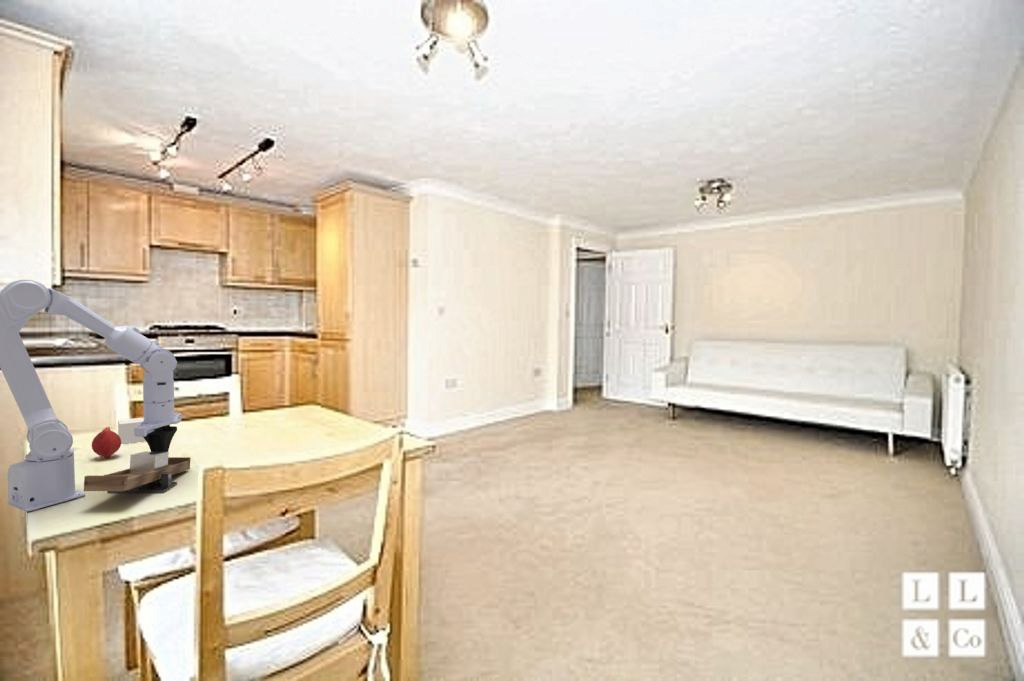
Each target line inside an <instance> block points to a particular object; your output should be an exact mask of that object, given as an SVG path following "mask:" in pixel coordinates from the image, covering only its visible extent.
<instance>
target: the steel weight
mask: <svg viewBox="0 0 1024 681" xmlns="http://www.w3.org/2000/svg"><path fill="white" fill-rule="evenodd" d="M169 454H170V453H169V451H168V452H151V451H142V452H137V453H132V454H130V458H129V459H130V460H129V468H130V470H129V474H145V473H148V472H151V471H155V470H158V469H162V468H165V467H168V457H169Z"/></svg>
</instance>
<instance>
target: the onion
mask: <svg viewBox="0 0 1024 681" xmlns="http://www.w3.org/2000/svg"><path fill="white" fill-rule="evenodd" d="M121 446H122V445H121V438H120V437H119V435H118V433H116V432H114V431H113V430H111V427H110V426H106V427H104V428H103V429H102V431H100V432H99V433H97V434H96V436H94V438H93V440H92V442H91V449H92V452H94V453H95V454H96V455H98V456H100V457H101V458H105V459H109V458H111V457H112V456H113V455H114V454H115V453H117V452H118V450H120V448H121Z"/></svg>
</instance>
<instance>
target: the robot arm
mask: <svg viewBox="0 0 1024 681" xmlns="http://www.w3.org/2000/svg"><path fill="white" fill-rule="evenodd" d="M43 310H44V313H47V314H51V315H59V316H64V317H67V318H69V319H70V320H72V321H74V322H75V323H77V324H79V325H81V326H83V327H85V328H87V329H89V330H90V331H92V332H94V333H95V334H98V335H99V336H101V337H103V338H104V340H105V346H106V348H108V349H110V350H111V351H113V352H114V353H117V354H119V355H120V356H122V357H124V358H126V359H127V360H129V361H130V362H132V363H134V364H139V365H140V367H141V368H142V369H143V381H142V390H143V391H142V396H143V397H142V398H143V399H142V400H143V402H142V403H143V404H142V405H143V417H144V421H143V422H142V423H141V424H140V425H139V426H137V427H135V428H134V435H135V437H143V438H144V439H145V440H146V442H145V443H147V445H148V447H149V450H150V452H169V450H170V445H171V443H172V440H173V438H174V436H175V434H176V432H177V431H178V427H177V426H173V425H176V424H179V423H180V422H182V413H181V412H175V380H174V370H176V368H177V365H178V361H177V359H176V357H175V354H174V353H173V352H171V351H170V350H168V349H165V348H163V346H160V344H161V343H160V342H159V341H157V340H154V341H153V340H152V339H150V338H148V337H147V336H144V335H143V334H142V333H140V332H141V330H140V329H139V328H137V326H132V327H130V326H128V325H117V326H116V325H115V324H113V323H111V322H109V321H108V320H107V319H105V318H104V317H102V316H100V315H99V314H97V313H96V312H94V311H93V310H91V309H89V308H88V307H86V306H84V305H83V304H81V303H80V302H79V301H77V300H75V299H74V298H72V297H71V296H69V295H67V294H64V293H62V292H59V291H57V290H55V289H53V288H50V287H47V286H45V285H44V284H42V283H41V282H39V281H36V280H33V279H28V278H27V279H26V278H25V279H18V280H14V281H11V282H9V283H8V284H7V285H6V286H5V287H3V288H2V289H1V290H0V370H1V373H2V374H3V377H4V379H5V381H6V383H7V385H8V388H9V389H10V392H11V393H12V396H13V398H14V401H15V402H16V406H17V407H18V409H19V411H20V414H21V415H22V418H23V420H24V423H25V425H26V427H27V433H26V440H27V442H28V443H29V444H28V447H29V450H30V451H29V452H28V453H26V454H25V457H24V458H25V459H23V460H22V461H20V462H16V463H12V464H11V465H10V466H9V467H8V471H7V491H8V492H7V495H8V501H7V502H6V505H8V506H11V507H13V508H17V509H19V510H20V511H21V510H22V511H24V512H31V511H36V510H38V509H42V508H45V507H50V506H53V505H57V504H59V503H64V502H67V501H71V500H74V499H78V498H81V497H85V496H86V493H85V492H84V491H83V492H82V491H79V490H76V480H75V479H76V474H75V473H76V472H75V450H74V449H73V448H72V446H73V444H74V438H73V434H72V433H71V432H70V431H69V429H68V426H67V425H66V424H65V422H63V421H61V420H60V419H59V418H57V417H58V416H57V415H56V413H55V410H54V408H53V407H52V404H51V402H50V400H49V397H48V395H47V393H46V391H45V389H44V386H43V384H42V382H41V380H40V377H39V375H38V372H37V370H36V368H35V366H34V364H33V362H32V360H31V357H30V355H29V353H28V351H27V350H28V349H26V346H25V344H24V341H23V340H22V338H21V337H22V336H21V335H20V331H21V330H22V329H23V328H24V326H25V325H26V324H27V323H28V322H29V320H30V319H31V318H32V317H33V316H35V315H37V314H38V313H40V312H41V311H43ZM171 425H172V426H171Z"/></svg>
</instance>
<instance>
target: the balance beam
mask: <svg viewBox="0 0 1024 681" xmlns="http://www.w3.org/2000/svg"><path fill="white" fill-rule="evenodd" d="M191 459H192V458H191V457H190V456H189V457H188V456H187V457H185V456H184V457H182V456H180V457H177V456H176V457H175V456H173V457H171V456H168V467H165V468H162V469H158V470H155V471H151V472H148V473H145V474H129V470H130V467H129V468H127V469H124V470H119V471H115V472H111V473H107V474H104V475H103V474H102V475H85V476H84V481H83V492H107V491H125V490H128V489H131V488H134V487H137V486H141V485H144V484H147V483H150V482H157V480H161V474H162V473H164V472H172V476H173V475H177V474H180V473H183V472H185V471H186V472H187V471H189V470H191Z"/></svg>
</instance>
